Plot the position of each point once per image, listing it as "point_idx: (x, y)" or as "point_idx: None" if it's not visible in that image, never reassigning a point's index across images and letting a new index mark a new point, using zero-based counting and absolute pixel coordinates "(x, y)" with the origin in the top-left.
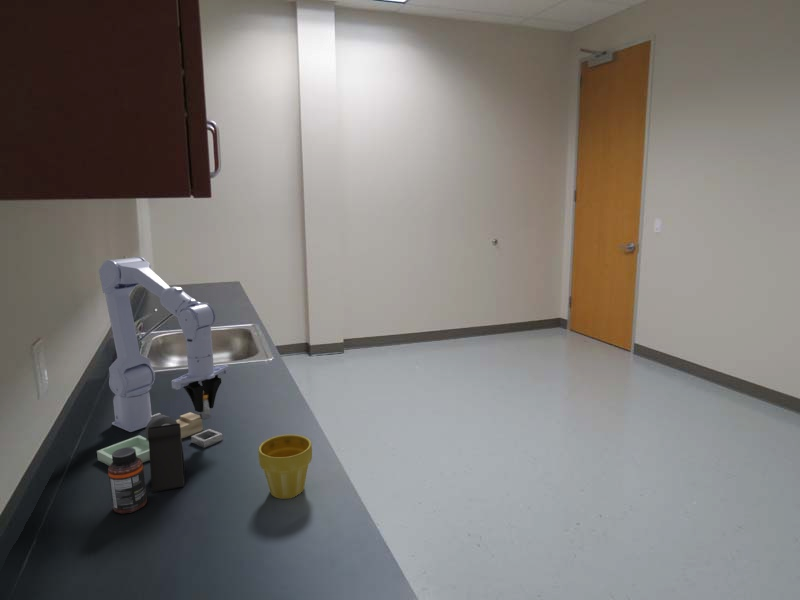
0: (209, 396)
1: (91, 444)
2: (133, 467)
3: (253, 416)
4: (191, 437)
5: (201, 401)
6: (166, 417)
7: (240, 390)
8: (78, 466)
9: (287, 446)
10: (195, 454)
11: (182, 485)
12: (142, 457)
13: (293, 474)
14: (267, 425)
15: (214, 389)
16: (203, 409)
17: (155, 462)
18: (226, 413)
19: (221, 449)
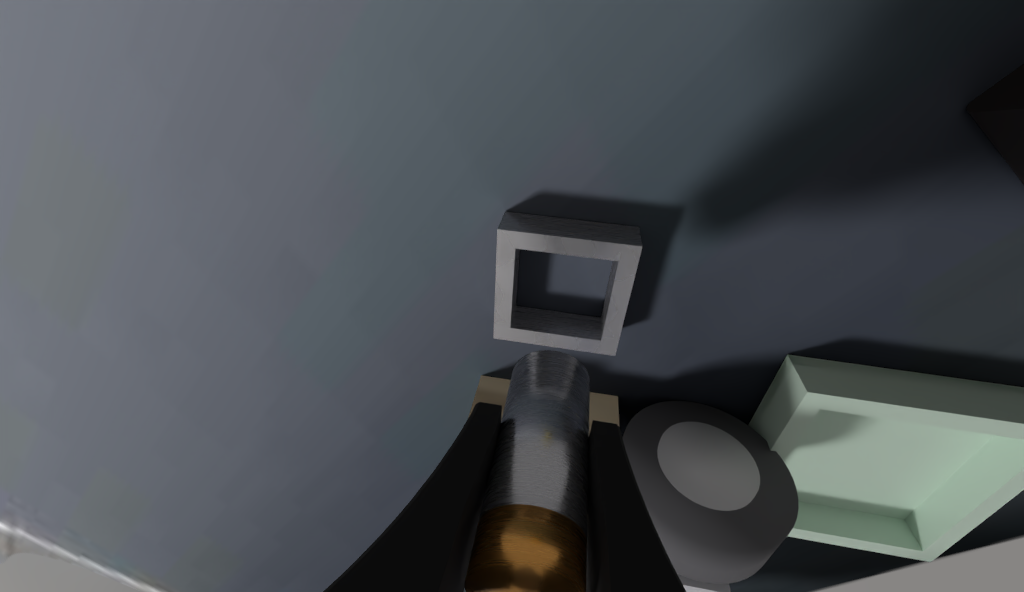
0: (468, 524)
1: (772, 585)
2: None
3: (224, 281)
4: (615, 348)
5: (620, 520)
6: (704, 543)
7: (172, 474)
8: (977, 537)
9: None
10: (737, 207)
11: None
12: (927, 394)
13: None
14: (205, 118)
15: (410, 590)
16: (580, 433)
17: None
18: (309, 399)
19: (612, 109)
